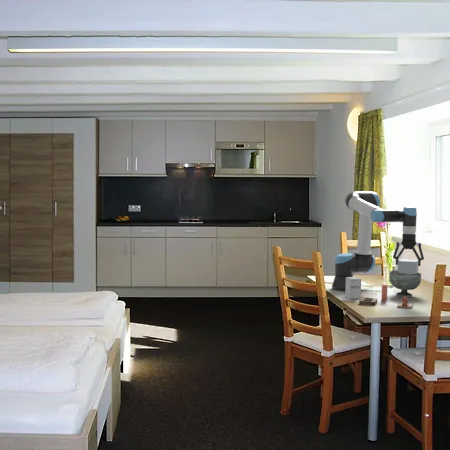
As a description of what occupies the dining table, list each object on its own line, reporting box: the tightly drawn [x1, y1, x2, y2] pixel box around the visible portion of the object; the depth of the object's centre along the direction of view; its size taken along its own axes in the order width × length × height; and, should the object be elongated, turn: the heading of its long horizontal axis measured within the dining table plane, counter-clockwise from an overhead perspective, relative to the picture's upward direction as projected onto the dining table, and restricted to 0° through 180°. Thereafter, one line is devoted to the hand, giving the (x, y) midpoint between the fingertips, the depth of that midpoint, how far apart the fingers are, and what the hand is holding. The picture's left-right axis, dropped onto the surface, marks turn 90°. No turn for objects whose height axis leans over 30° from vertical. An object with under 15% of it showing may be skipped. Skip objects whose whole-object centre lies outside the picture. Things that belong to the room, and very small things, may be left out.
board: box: [396, 297, 414, 310], centre depth 361 cm, size 8×8×6 cm
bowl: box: [388, 269, 422, 298], centre depth 393 cm, size 20×19×15 cm
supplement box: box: [344, 276, 362, 300], centre depth 385 cm, size 7×7×13 cm
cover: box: [397, 258, 418, 274], centre depth 370 cm, size 10×10×7 cm
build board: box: [358, 296, 378, 307], centre depth 370 cm, size 11×9×2 cm
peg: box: [381, 284, 388, 303], centre depth 376 cm, size 3×3×10 cm
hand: (407, 271), depth 370 cm, fingers closed on cover, 10 cm apart
